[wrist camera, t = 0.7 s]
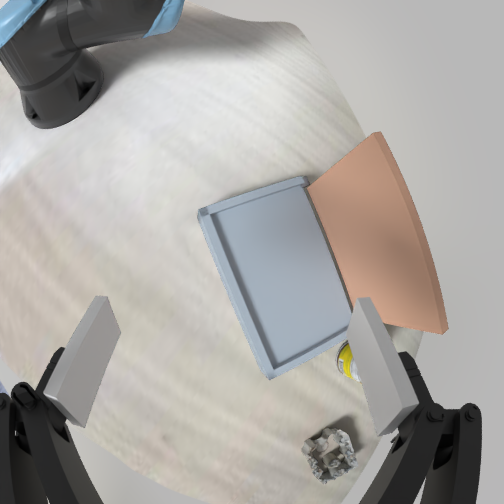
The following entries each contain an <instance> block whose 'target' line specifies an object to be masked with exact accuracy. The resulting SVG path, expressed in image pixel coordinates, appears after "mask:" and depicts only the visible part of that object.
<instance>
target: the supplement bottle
mask: <svg viewBox="0 0 504 504" xmlns="http://www.w3.org/2000/svg"><path fill="white" fill-rule="evenodd" d="M336 366H337V368H338V370H339V371H340V372H341V373H342V374H344V375H346V376H348V377H349V378H351V379H353V380H355V381H357V382H359V383H361V384H362V382H361V379H360V376H359V373H358V370H357V367H356V364H355V361H354V358H353V355H352V352H351V349H350V346H349V343H348V342H347V343H345V344H344V345H343V346H342V347H341V348H340V350H339V351H338V353H337V356H336Z"/></svg>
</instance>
